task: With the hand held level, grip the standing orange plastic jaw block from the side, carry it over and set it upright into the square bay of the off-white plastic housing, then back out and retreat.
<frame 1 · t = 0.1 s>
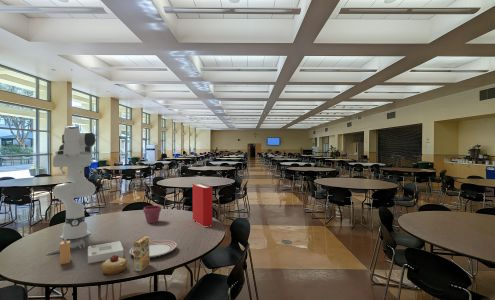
hand: (72, 173, 171), 48 cm above the table, tool pointing down, fingers open, 8 cm apart
book: (202, 223, 231), on the table
pastry: (114, 271, 142), on the table
candy box: (142, 268, 146), on the table
plant pot: (152, 222, 236), on the table
housing: (105, 254, 163), on the table
jaw block: (65, 261, 153), on the table
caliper: (65, 252, 169), on the table
dinner plate: (153, 252, 168), on the table
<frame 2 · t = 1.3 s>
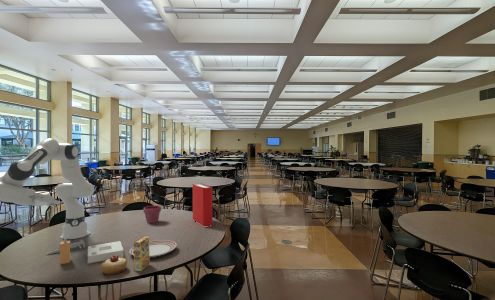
hand: (56, 203, 153), 33 cm above the table, tool tilted 65°, fingers open, 8 cm apart
nothing on the table moved.
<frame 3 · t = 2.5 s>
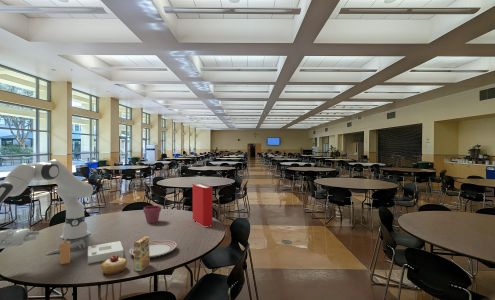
hand: (37, 234, 147), 17 cm above the table, tool horizontal, fingers open, 8 cm apart
nothing on the table moved.
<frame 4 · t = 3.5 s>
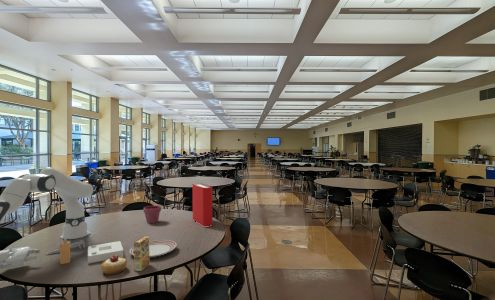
hand: (38, 253, 147), 7 cm above the table, tool horizontal, fingers open, 8 cm apart
nothing on the table moved.
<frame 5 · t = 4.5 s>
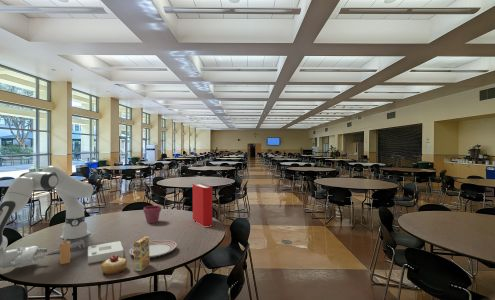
hand: (46, 252, 149), 7 cm above the table, tool horizontal, fingers open, 8 cm apart
nothing on the table moved.
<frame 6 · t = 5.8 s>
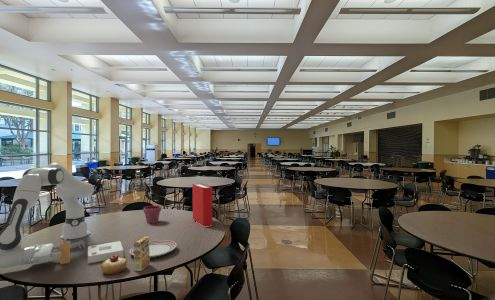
hand: (62, 250, 153), 7 cm above the table, tool horizontal, fingers open, 8 cm apart
nothing on the table moved.
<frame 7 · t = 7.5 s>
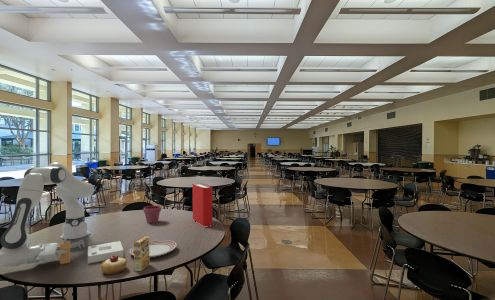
hand: (67, 249, 154), 7 cm above the table, tool horizontal, fingers closed on jaw block, 4 cm apart
jaw block: (65, 261, 153), on the table, touching gripper
everything else where it was.
when the fingers open (9 cm above the table, at t = 14.8 s): jaw block drops 1 cm, resting on housing.
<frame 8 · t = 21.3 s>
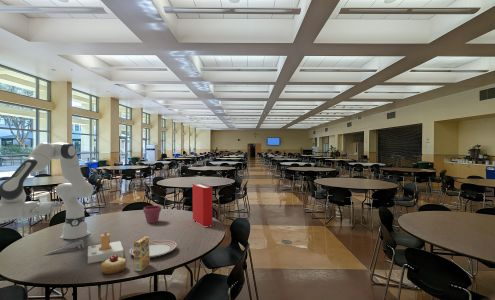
hand: (61, 206, 159), 30 cm above the table, tool horizontal, fingers open, 8 cm apart
jaw block: (105, 253, 163), point 1 cm above the table, touching housing
everything else where it was.
at the end: jaw block 0.0 cm off-centre on the housing, point 1.0 cm above the housing's base; jaw block tilted 0°; the gripper is holding nothing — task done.
